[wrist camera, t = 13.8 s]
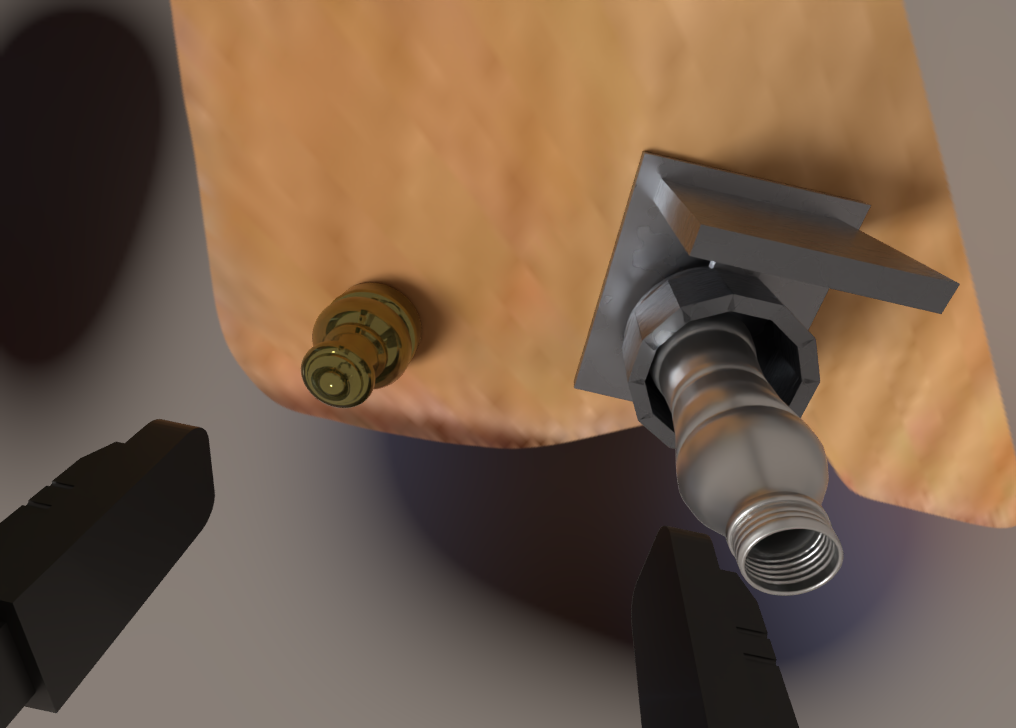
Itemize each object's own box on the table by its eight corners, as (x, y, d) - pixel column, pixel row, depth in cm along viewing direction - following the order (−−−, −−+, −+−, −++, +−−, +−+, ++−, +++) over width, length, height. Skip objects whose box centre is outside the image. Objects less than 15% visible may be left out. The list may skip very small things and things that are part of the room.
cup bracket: (642, 151, 37) (678, 188, 25) (862, 201, 37) (1009, 265, 25) (573, 380, 46) (574, 496, 33) (753, 422, 46) (821, 553, 33)
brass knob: (318, 292, 44) (255, 345, 36) (404, 270, 43) (361, 321, 34) (354, 372, 48) (303, 440, 39) (436, 355, 46) (403, 421, 37)
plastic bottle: (762, 342, 38) (925, 570, 21) (680, 398, 41) (761, 644, 23) (705, 275, 37) (829, 461, 19) (623, 337, 39) (664, 553, 22)
